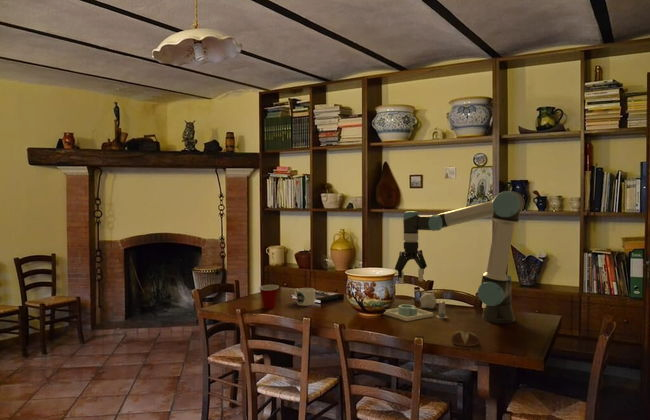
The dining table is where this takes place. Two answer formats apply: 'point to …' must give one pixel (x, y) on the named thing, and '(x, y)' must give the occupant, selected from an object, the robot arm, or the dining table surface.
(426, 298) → the die
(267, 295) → the plastic cup
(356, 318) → the dining table surface
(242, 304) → the dining table surface
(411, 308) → the grey-green rounded block
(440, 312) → the grey pedestal column
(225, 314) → the dining table surface
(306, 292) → the mug
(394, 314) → the tray
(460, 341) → the bread
